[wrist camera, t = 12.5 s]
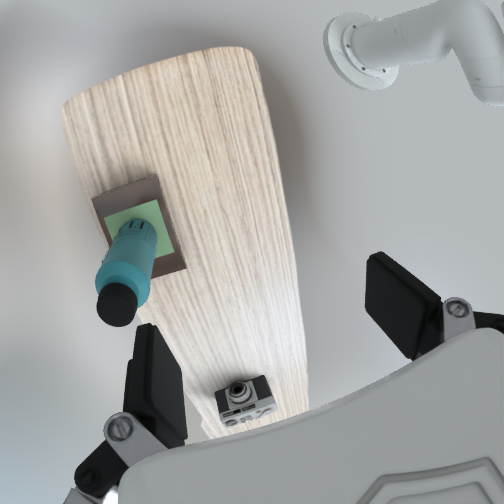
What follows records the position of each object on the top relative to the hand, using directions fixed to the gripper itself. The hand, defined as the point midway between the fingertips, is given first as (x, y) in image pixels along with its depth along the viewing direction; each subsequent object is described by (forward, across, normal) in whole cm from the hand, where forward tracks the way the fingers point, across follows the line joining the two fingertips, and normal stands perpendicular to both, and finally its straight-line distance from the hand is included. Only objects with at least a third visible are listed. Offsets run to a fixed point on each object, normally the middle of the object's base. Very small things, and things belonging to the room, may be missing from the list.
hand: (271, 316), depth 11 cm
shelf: (+36, +13, +5) cm, 38 cm away
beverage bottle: (+32, +13, +5) cm, 35 cm away
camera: (+36, +6, +51) cm, 63 cm away
